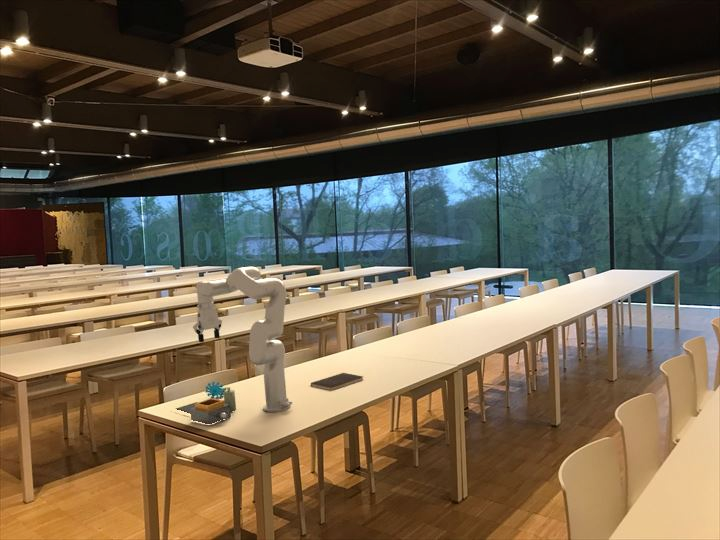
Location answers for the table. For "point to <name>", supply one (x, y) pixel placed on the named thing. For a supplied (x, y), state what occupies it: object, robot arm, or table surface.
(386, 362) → the table surface
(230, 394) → the spout can
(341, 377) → the hardcover book
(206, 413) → the box
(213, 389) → the gear
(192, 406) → the dark grey flat slab
